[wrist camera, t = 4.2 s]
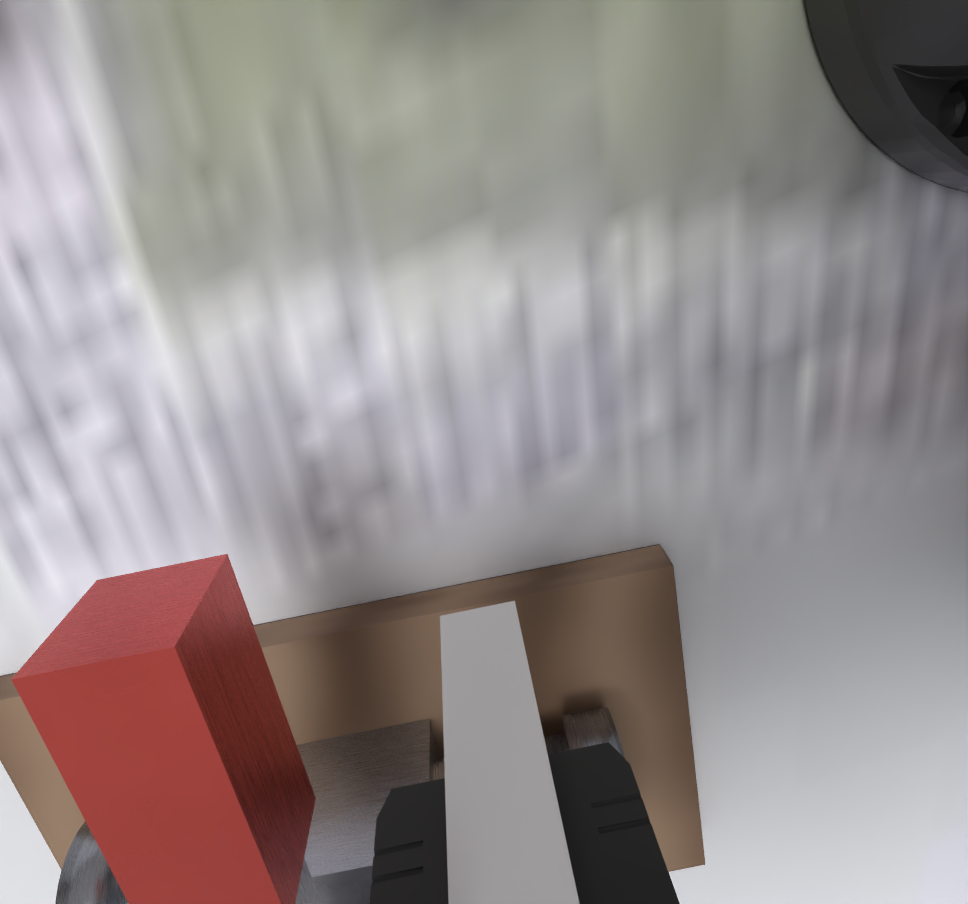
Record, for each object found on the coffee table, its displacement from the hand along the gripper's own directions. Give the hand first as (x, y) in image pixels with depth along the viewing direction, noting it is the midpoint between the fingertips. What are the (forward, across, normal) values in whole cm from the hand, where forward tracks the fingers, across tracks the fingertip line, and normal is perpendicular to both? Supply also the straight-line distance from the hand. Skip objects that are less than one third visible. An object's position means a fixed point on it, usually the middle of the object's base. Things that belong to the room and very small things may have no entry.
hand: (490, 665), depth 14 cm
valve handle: (+1, +6, +5) cm, 8 cm away
